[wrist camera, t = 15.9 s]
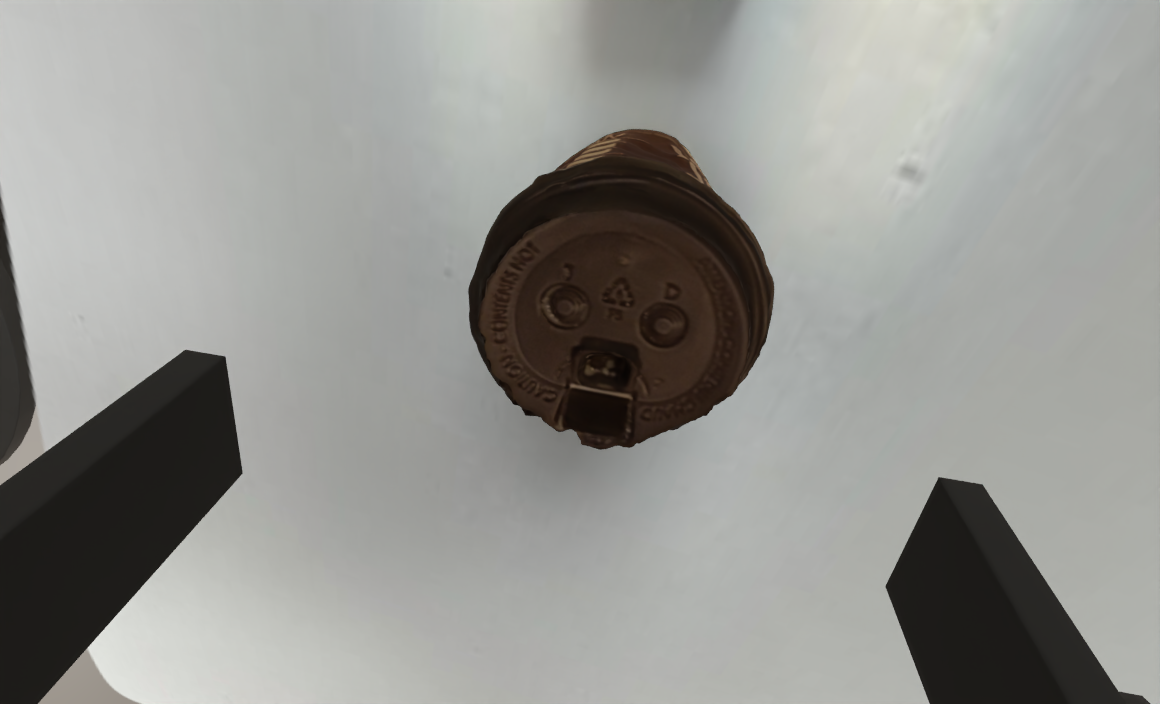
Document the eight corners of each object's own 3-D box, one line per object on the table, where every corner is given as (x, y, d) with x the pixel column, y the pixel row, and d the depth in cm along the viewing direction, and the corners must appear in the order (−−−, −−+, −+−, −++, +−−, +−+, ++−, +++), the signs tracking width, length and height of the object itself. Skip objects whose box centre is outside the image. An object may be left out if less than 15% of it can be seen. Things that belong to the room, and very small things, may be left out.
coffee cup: (618, 330, 32) (589, 515, 20) (494, 198, 29) (383, 324, 18) (773, 213, 28) (843, 357, 17) (647, 54, 26) (629, 96, 15)
